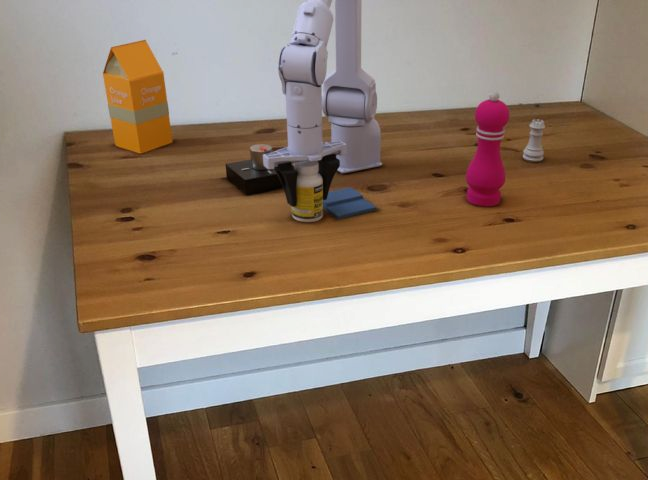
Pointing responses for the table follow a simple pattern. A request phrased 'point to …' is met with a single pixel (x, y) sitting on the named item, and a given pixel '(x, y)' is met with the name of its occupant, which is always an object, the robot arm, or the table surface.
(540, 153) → the rook chess piece
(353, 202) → the dish cloth
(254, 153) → the knob
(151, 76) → the orange juice
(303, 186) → the supplement bottle
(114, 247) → the table surface
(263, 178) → the panel
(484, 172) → the pepper mill
